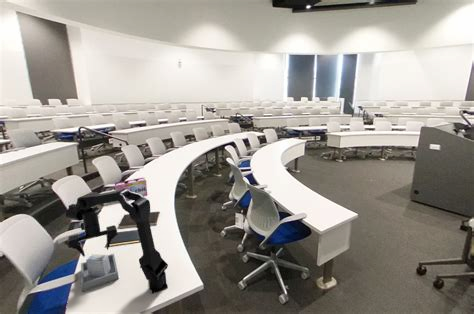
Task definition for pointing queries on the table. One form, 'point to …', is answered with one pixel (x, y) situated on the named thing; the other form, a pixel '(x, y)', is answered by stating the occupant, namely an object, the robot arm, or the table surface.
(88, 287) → the bin
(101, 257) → the medicine box
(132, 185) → the gum box
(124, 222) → the hardcover book
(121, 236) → the dark gray book
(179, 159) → the table surface
